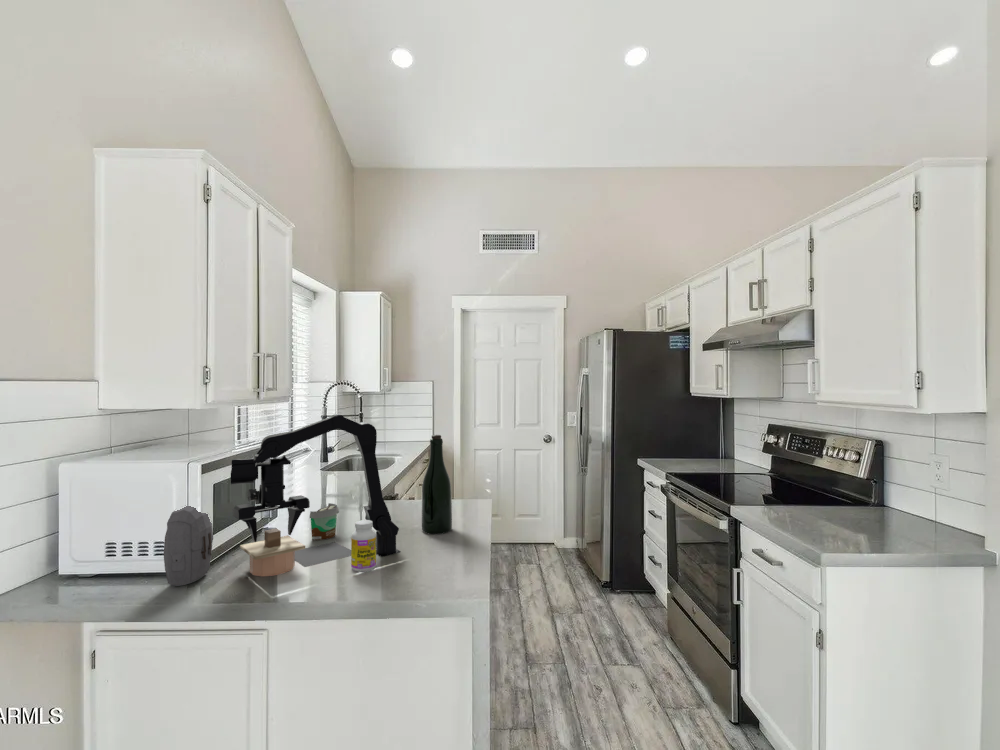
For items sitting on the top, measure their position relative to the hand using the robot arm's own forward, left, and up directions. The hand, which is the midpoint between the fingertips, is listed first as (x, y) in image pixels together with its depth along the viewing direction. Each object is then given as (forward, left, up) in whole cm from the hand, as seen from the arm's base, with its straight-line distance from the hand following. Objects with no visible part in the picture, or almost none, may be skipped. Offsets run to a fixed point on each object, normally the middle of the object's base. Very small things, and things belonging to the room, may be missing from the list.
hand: (272, 538), depth 144 cm
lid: (0, 0, -3) cm, 3 cm away
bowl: (0, 0, -9) cm, 9 cm away
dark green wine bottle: (0, -55, -9) cm, 56 cm away
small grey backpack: (+7, +18, -9) cm, 21 cm away
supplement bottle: (-16, -19, -9) cm, 26 cm away
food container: (+18, -24, -9) cm, 31 cm away
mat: (+3, -15, -9) cm, 18 cm away
